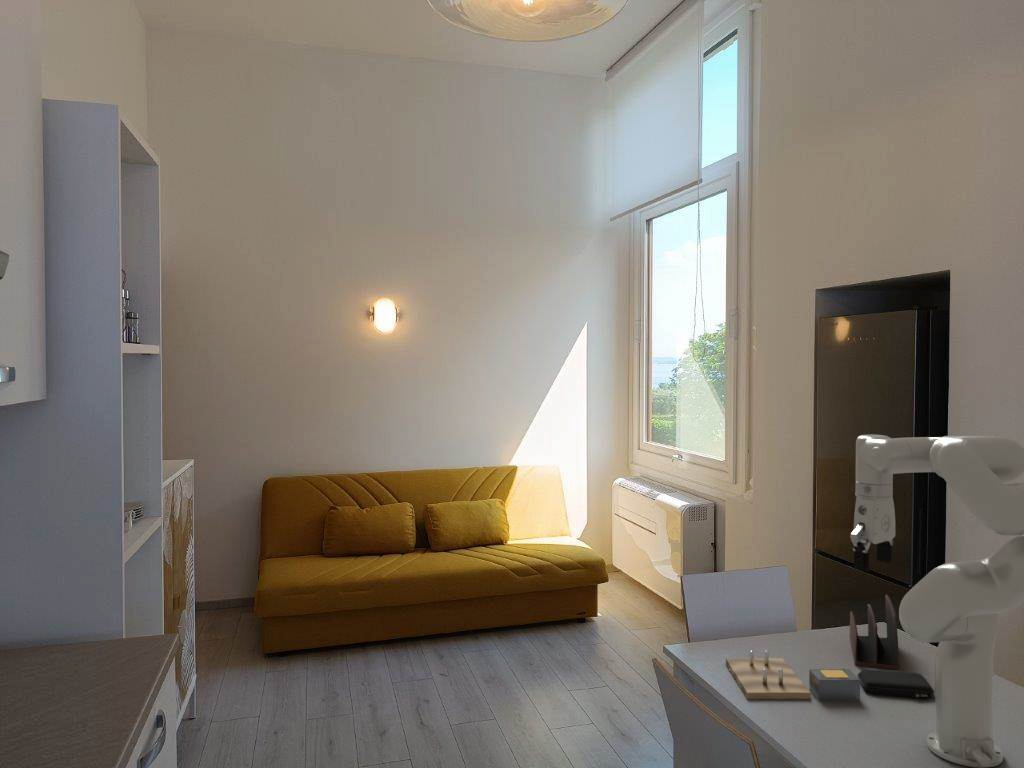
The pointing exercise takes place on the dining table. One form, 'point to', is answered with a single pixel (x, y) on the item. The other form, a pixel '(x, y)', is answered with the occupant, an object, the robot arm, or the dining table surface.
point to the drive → (834, 684)
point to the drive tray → (767, 678)
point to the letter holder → (876, 641)
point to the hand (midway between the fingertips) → (873, 565)
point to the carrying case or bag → (895, 683)
